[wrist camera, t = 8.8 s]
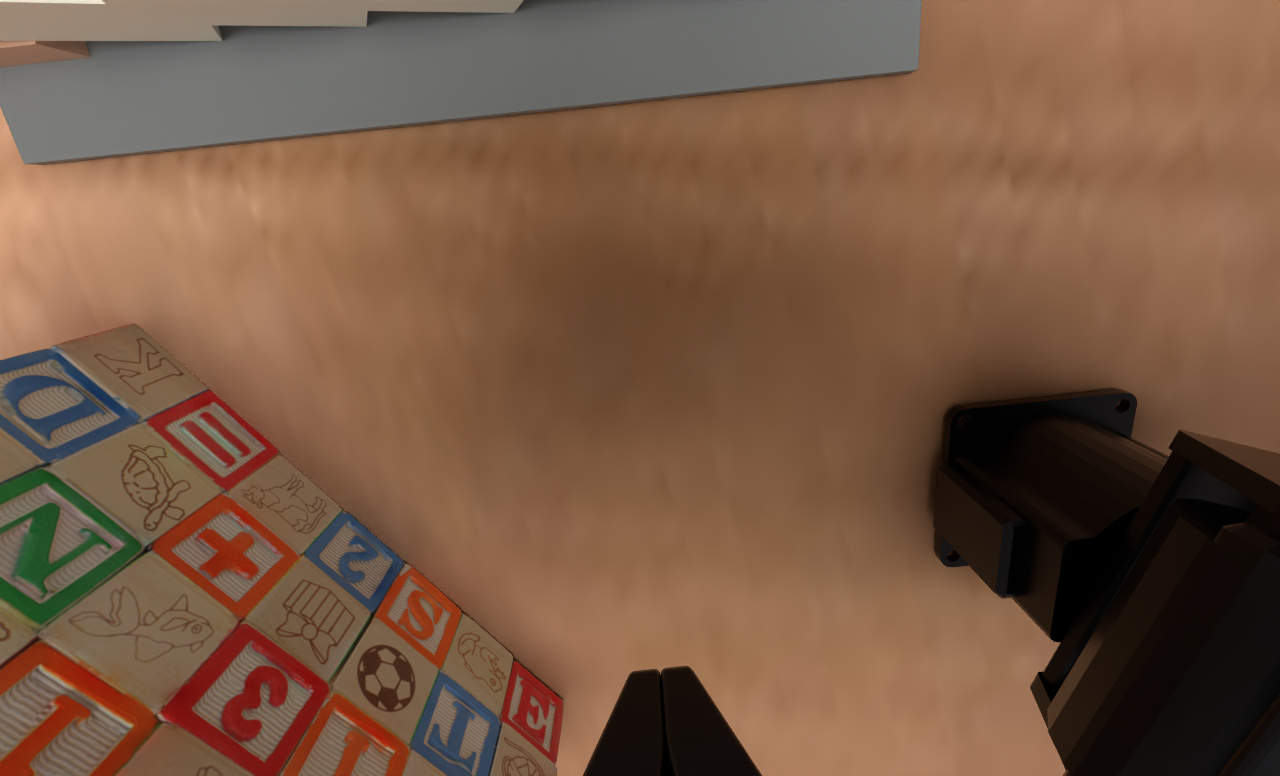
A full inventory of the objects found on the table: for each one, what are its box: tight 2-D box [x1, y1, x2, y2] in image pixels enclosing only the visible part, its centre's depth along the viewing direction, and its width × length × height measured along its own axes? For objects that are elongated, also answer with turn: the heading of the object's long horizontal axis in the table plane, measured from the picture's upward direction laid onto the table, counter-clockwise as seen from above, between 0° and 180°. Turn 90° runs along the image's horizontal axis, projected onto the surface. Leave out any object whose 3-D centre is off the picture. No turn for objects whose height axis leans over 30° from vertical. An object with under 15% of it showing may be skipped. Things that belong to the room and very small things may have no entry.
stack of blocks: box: [0, 324, 563, 776], centre depth 17 cm, size 21×6×12 cm, turn 40°
